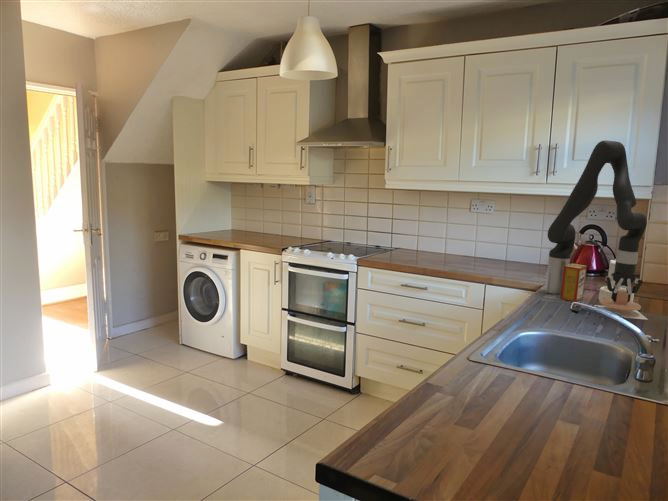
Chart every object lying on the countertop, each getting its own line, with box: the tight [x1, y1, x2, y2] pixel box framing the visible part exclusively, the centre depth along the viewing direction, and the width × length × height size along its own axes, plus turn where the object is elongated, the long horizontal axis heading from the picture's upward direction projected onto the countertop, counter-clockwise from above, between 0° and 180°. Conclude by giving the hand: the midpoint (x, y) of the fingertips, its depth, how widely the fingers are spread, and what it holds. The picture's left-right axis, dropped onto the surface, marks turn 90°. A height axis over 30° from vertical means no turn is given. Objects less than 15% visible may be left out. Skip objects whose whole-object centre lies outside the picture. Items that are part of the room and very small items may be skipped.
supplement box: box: [607, 259, 626, 289], centre depth 242 cm, size 9×9×15 cm
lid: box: [598, 290, 642, 311], centre depth 207 cm, size 15×15×6 cm
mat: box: [593, 304, 649, 321], centre depth 208 cm, size 16×16×1 cm
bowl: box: [598, 285, 635, 302], centre depth 223 cm, size 13×13×6 cm
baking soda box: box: [560, 263, 588, 302], centre depth 226 cm, size 10×6×16 cm
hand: (620, 301), depth 207 cm, fingers closed on lid, 4 cm apart
